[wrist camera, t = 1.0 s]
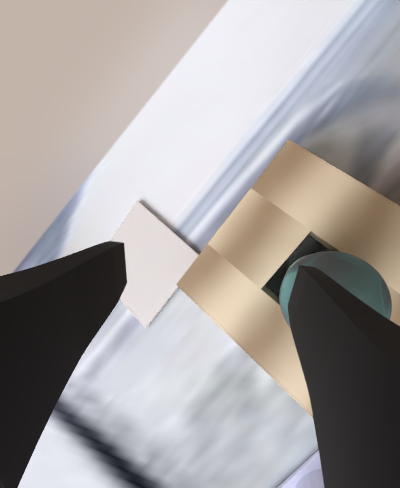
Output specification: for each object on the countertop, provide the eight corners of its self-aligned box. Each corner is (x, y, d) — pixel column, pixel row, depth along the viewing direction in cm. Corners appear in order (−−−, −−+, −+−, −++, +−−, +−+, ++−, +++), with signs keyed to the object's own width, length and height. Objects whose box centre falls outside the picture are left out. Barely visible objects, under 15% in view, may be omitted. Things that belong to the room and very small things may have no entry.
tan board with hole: (495, 283, 16) (539, 289, 13) (342, 424, 18) (351, 455, 16) (289, 155, 21) (288, 139, 18) (190, 281, 23) (176, 284, 20)
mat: (202, 257, 23) (200, 257, 23) (147, 327, 24) (145, 328, 24) (139, 201, 26) (137, 200, 25) (94, 267, 27) (91, 268, 27)
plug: (360, 279, 18) (418, 298, 10) (319, 323, 19) (341, 374, 11) (309, 242, 20) (322, 231, 11) (272, 284, 21) (259, 303, 12)
